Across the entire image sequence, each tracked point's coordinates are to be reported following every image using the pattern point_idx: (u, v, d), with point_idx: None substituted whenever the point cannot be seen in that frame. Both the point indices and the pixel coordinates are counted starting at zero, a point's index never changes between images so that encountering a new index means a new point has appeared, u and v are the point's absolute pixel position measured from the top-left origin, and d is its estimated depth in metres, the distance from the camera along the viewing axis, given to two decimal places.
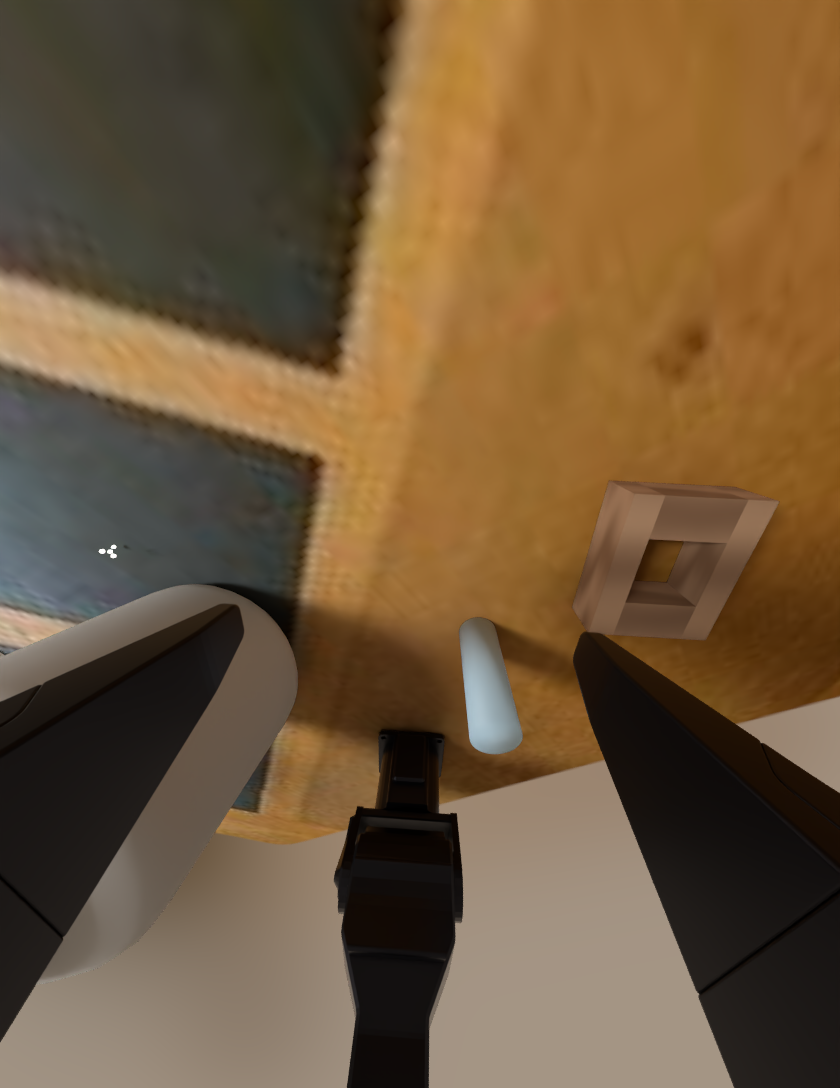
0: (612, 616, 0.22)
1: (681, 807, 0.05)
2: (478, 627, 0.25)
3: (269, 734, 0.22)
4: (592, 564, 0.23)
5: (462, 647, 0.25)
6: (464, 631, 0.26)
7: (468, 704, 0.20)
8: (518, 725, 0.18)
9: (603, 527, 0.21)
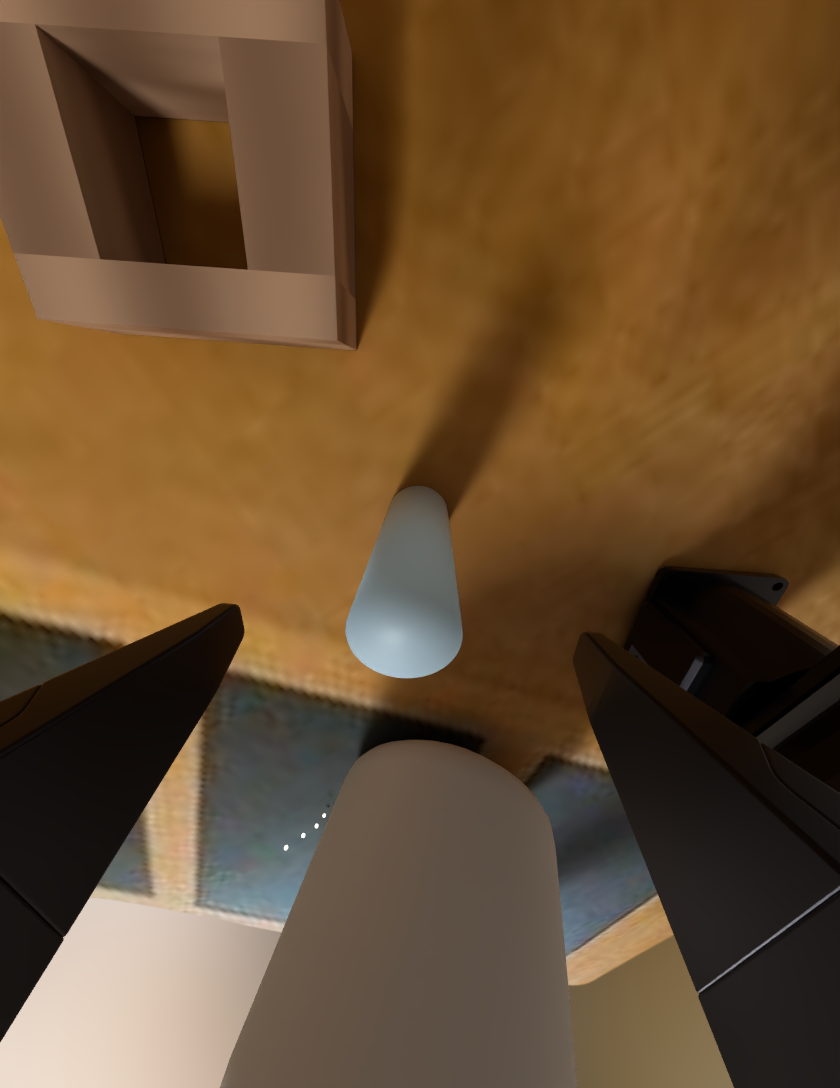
0: (287, 291, 0.10)
1: (681, 807, 0.05)
2: None
3: (465, 849, 0.16)
4: (239, 339, 0.13)
5: None
6: None
7: None
8: (368, 591, 0.08)
9: (166, 334, 0.13)
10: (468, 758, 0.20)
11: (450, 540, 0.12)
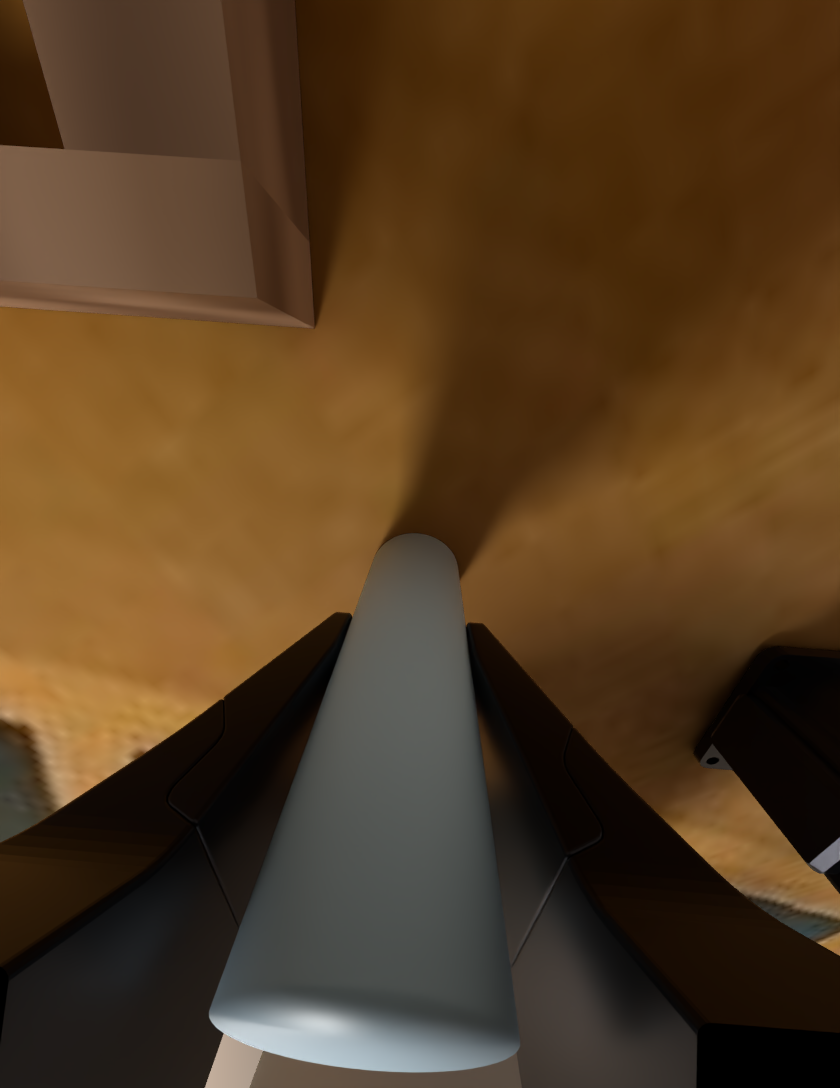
0: (149, 195, 0.05)
1: (500, 792, 0.05)
2: None
3: (484, 1073, 0.11)
4: (112, 307, 0.08)
5: None
6: None
7: None
8: (258, 961, 0.03)
9: None
10: None
11: (467, 649, 0.07)
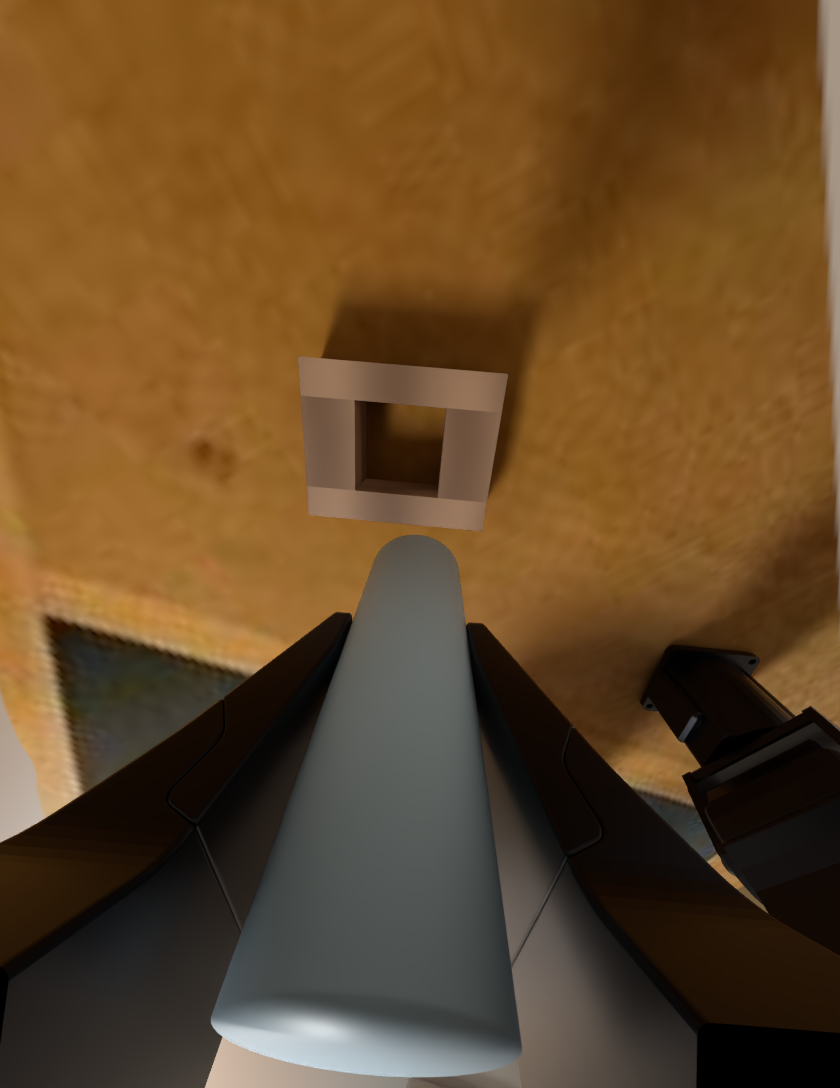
0: (457, 508, 0.18)
1: (500, 792, 0.05)
2: None
3: None
4: None
5: None
6: None
7: None
8: (260, 967, 0.03)
9: None
10: None
11: (468, 652, 0.07)
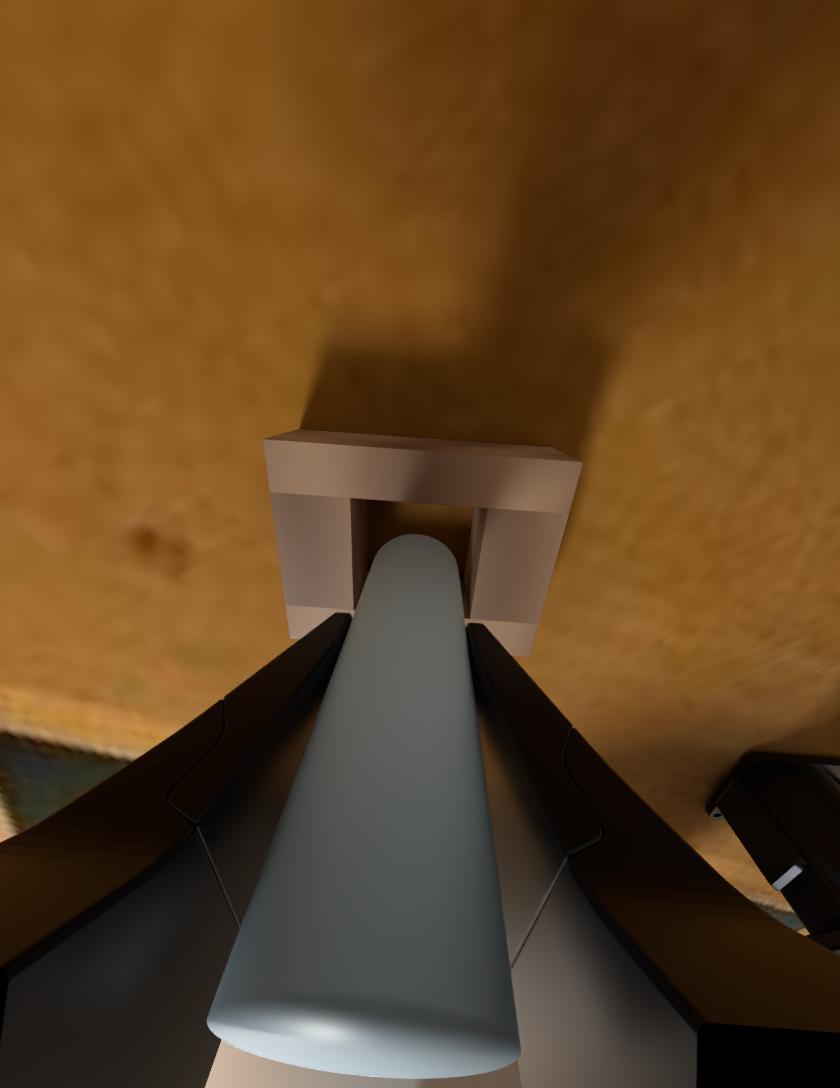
0: (497, 630, 0.13)
1: (500, 792, 0.05)
2: None
3: None
4: None
5: None
6: None
7: None
8: (257, 968, 0.03)
9: None
10: None
11: (467, 651, 0.07)
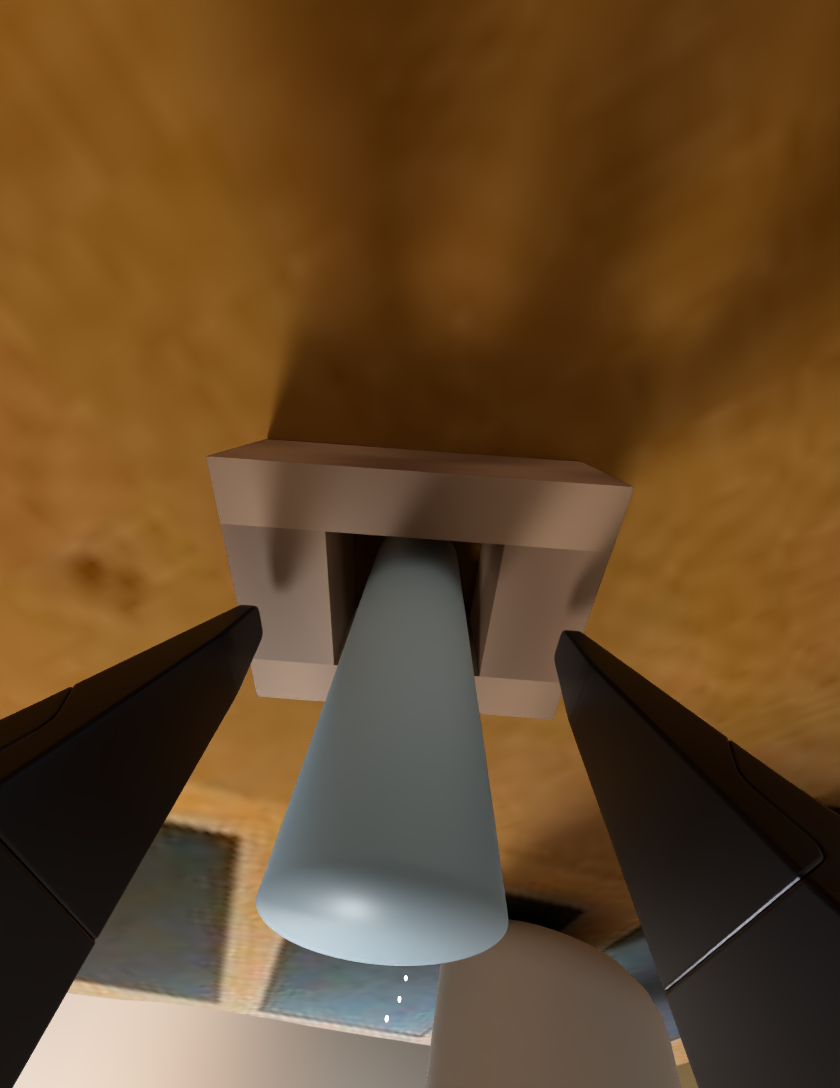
0: (514, 690, 0.10)
1: (650, 805, 0.05)
2: None
3: None
4: None
5: None
6: None
7: None
8: (298, 849, 0.04)
9: None
10: (586, 964, 0.20)
11: (466, 627, 0.08)
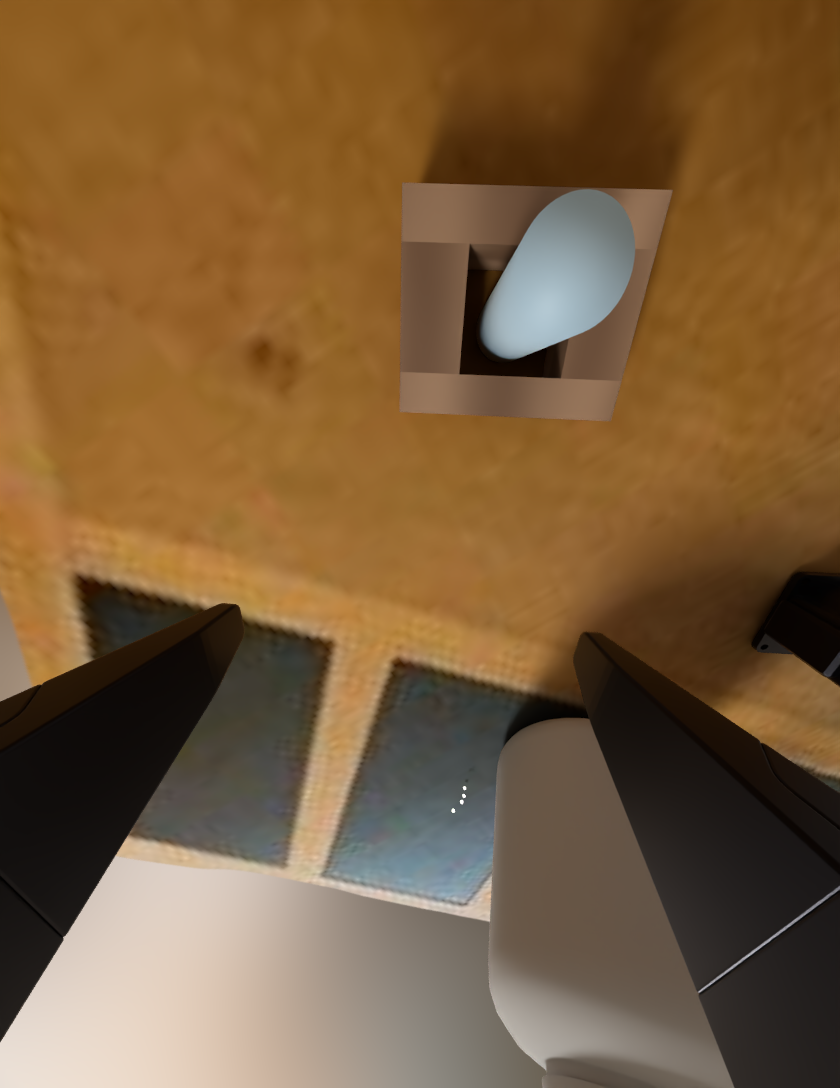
0: (584, 391, 0.15)
1: (681, 807, 0.05)
2: (479, 329, 0.16)
3: None
4: None
5: (501, 356, 0.15)
6: (488, 354, 0.16)
7: (531, 342, 0.11)
8: (544, 209, 0.08)
9: None
10: None
11: None
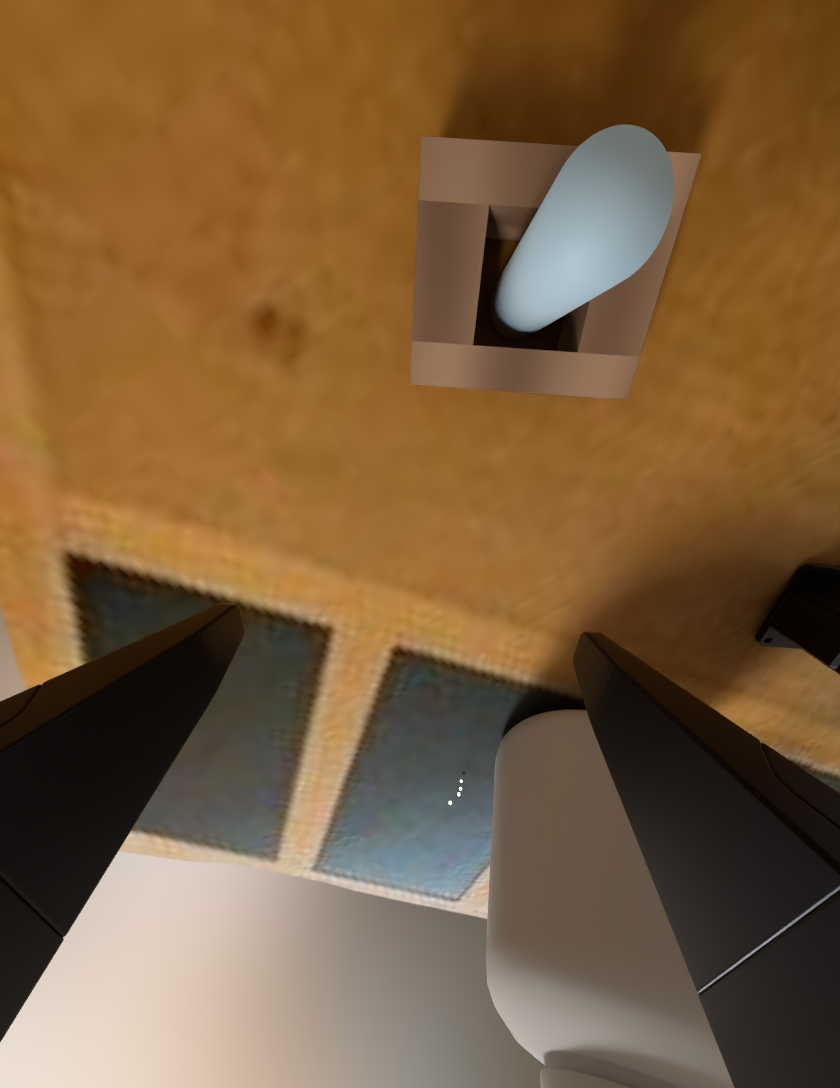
0: (601, 366, 0.14)
1: (681, 807, 0.05)
2: (494, 300, 0.15)
3: None
4: (521, 392, 0.17)
5: (517, 329, 0.15)
6: (502, 327, 0.16)
7: (554, 302, 0.10)
8: (580, 147, 0.08)
9: (467, 388, 0.17)
10: None
11: None
